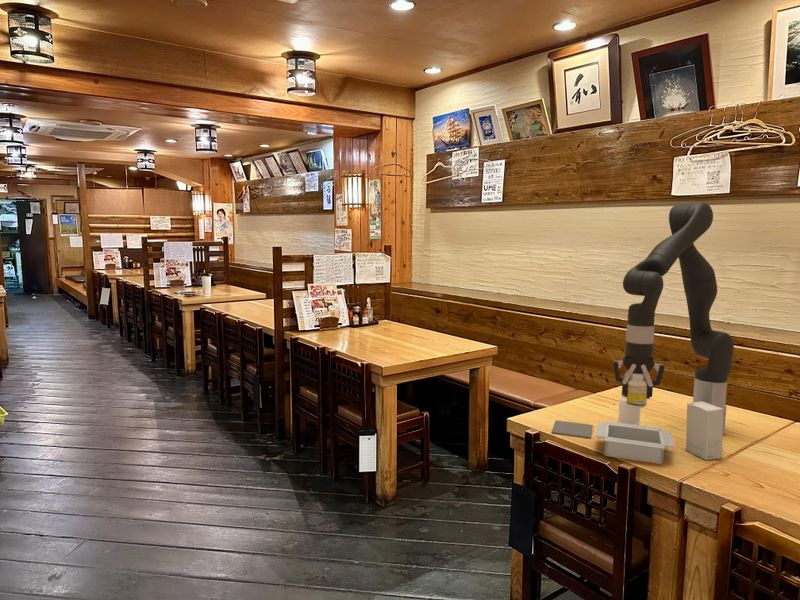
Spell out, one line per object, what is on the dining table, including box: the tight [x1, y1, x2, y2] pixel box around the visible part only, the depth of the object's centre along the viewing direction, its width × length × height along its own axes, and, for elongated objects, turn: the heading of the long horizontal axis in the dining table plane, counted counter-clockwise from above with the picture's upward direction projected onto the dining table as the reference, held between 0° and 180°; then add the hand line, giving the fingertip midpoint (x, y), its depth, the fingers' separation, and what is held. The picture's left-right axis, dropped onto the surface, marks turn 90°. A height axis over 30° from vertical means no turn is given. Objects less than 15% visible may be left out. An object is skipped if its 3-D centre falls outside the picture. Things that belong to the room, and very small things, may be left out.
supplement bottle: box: [627, 373, 648, 409], centre depth 162 cm, size 5×5×10 cm
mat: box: [550, 420, 594, 440], centre depth 182 cm, size 12×12×1 cm
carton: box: [595, 420, 675, 465], centre depth 164 cm, size 21×18×6 cm
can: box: [617, 392, 641, 425], centre depth 181 cm, size 6×6×12 cm
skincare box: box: [685, 402, 724, 461], centre depth 162 cm, size 8×6×15 cm
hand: (636, 396), depth 162 cm, fingers closed on supplement bottle, 5 cm apart
